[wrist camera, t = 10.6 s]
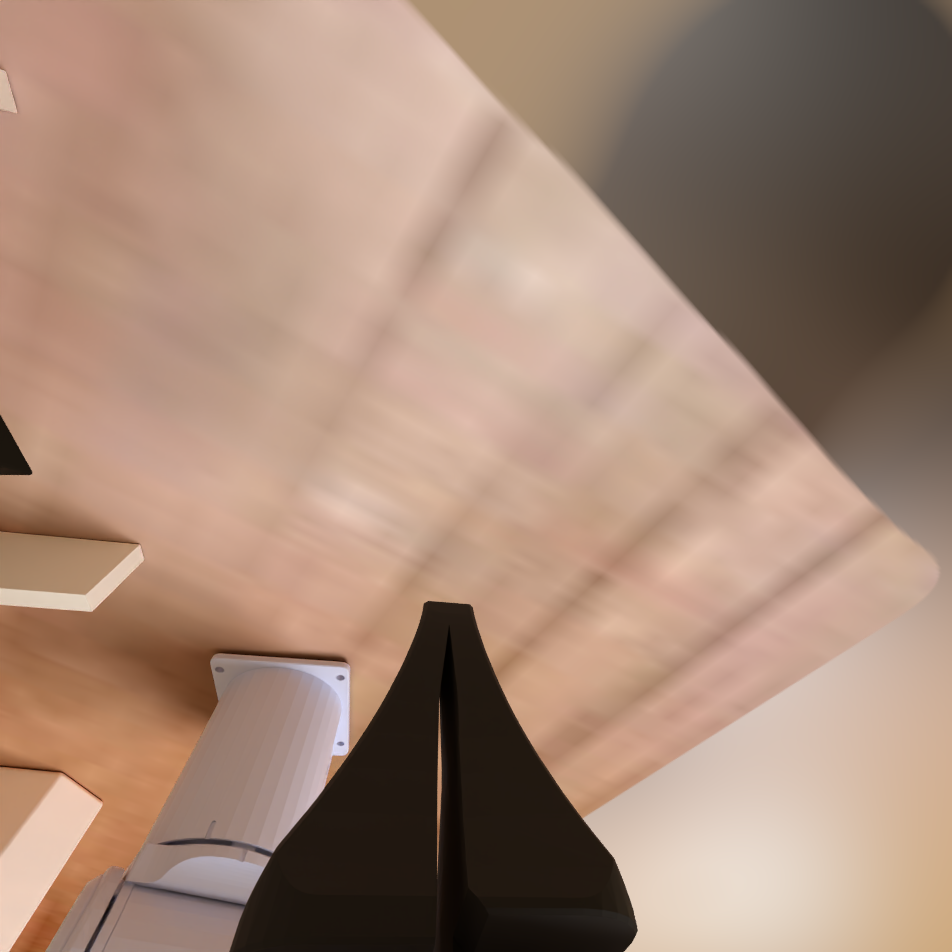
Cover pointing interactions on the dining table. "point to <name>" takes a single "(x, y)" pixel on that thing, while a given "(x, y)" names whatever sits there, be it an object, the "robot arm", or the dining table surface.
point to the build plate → (11, 454)
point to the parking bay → (59, 546)
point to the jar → (36, 839)
